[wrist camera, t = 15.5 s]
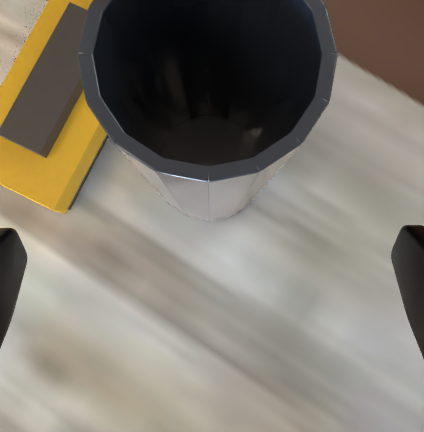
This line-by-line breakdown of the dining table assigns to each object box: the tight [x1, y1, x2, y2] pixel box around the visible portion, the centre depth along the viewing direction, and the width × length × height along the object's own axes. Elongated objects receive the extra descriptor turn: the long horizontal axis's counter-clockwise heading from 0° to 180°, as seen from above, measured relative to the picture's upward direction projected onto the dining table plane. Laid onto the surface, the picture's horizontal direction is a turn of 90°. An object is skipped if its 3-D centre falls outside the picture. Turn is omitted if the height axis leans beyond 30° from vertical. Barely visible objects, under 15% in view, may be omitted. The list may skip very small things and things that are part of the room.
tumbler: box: [78, 0, 337, 221], centre depth 16 cm, size 6×6×12 cm
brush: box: [0, 0, 108, 213], centre depth 20 cm, size 12×6×4 cm, turn 154°
